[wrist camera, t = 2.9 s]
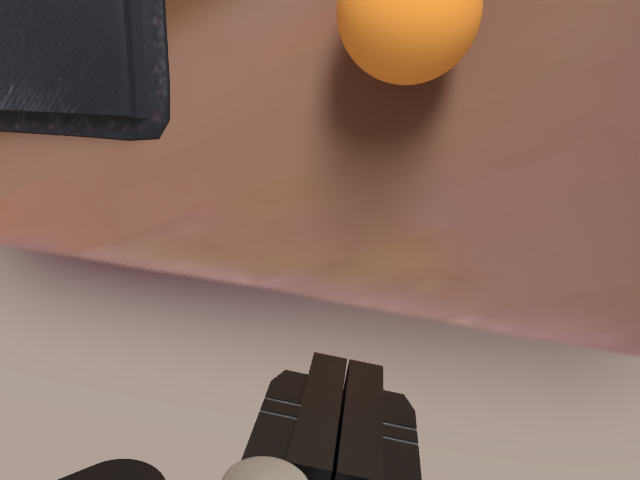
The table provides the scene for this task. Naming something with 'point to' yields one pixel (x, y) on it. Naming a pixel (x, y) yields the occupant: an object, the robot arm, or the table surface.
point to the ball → (408, 36)
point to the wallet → (84, 68)
